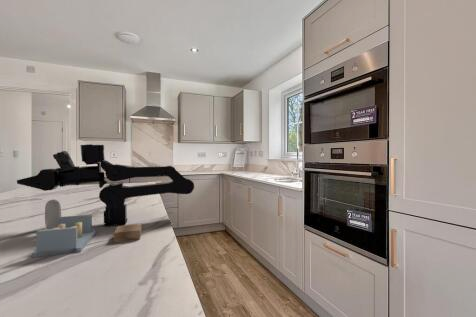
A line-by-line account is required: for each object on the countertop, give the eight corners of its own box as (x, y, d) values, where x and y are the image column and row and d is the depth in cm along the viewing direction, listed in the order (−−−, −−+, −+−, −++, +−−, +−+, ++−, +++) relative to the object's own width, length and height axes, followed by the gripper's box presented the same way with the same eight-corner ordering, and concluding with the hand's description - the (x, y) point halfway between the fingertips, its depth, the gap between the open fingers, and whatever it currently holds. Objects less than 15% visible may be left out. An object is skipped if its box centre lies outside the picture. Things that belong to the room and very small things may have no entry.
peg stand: (95, 233, 72) (95, 214, 71) (80, 251, 58) (80, 227, 58) (56, 237, 68) (56, 217, 68) (31, 257, 55) (31, 232, 55)
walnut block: (141, 233, 73) (141, 223, 73) (139, 240, 66) (139, 230, 66) (118, 235, 71) (118, 226, 71) (114, 243, 64) (114, 232, 64)
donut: (62, 232, 73) (62, 200, 73) (48, 235, 71) (48, 202, 70) (57, 226, 80) (56, 196, 80) (44, 228, 77) (43, 198, 77)
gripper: (86, 152, 87) (34, 155, 81) (73, 150, 70) (6, 154, 64) (89, 182, 87) (37, 187, 81) (77, 187, 70) (9, 194, 64)
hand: (24, 180), depth 73 cm, fingers open, 9 cm apart
